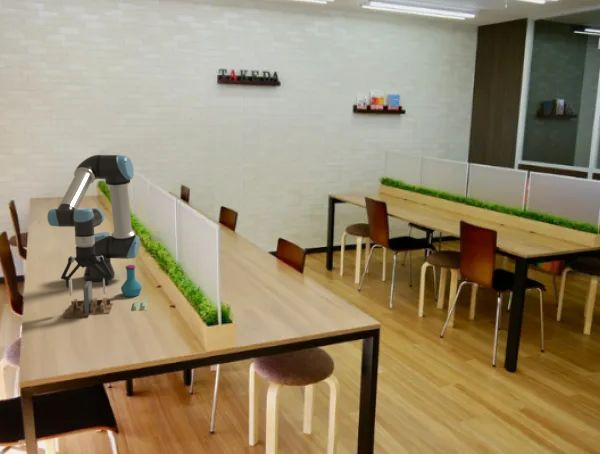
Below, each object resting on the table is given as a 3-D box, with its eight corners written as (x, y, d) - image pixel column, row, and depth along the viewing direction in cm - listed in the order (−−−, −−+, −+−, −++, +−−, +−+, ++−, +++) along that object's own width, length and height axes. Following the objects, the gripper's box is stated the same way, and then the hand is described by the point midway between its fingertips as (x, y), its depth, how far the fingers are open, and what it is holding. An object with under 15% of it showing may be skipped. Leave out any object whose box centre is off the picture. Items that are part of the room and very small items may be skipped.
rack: (69, 308, 240) (69, 298, 239) (112, 305, 244) (112, 296, 243) (63, 318, 228) (62, 308, 227) (109, 316, 232) (108, 306, 231)
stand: (134, 304, 246) (133, 299, 246) (148, 303, 248) (147, 298, 247) (132, 312, 236) (131, 307, 235) (146, 312, 237) (146, 306, 237)
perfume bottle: (121, 300, 251) (119, 268, 249) (121, 294, 260) (120, 263, 257) (141, 299, 254) (140, 267, 251) (142, 293, 263) (140, 262, 260)
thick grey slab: (88, 305, 240) (87, 281, 238) (92, 305, 241) (91, 281, 239) (84, 313, 231) (83, 288, 229) (89, 313, 231) (87, 288, 229)
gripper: (51, 248, 224) (54, 298, 228) (115, 246, 229) (117, 295, 233) (55, 244, 231) (58, 292, 235) (117, 242, 237) (119, 290, 241)
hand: (88, 294), depth 234 cm, fingers open, 13 cm apart
